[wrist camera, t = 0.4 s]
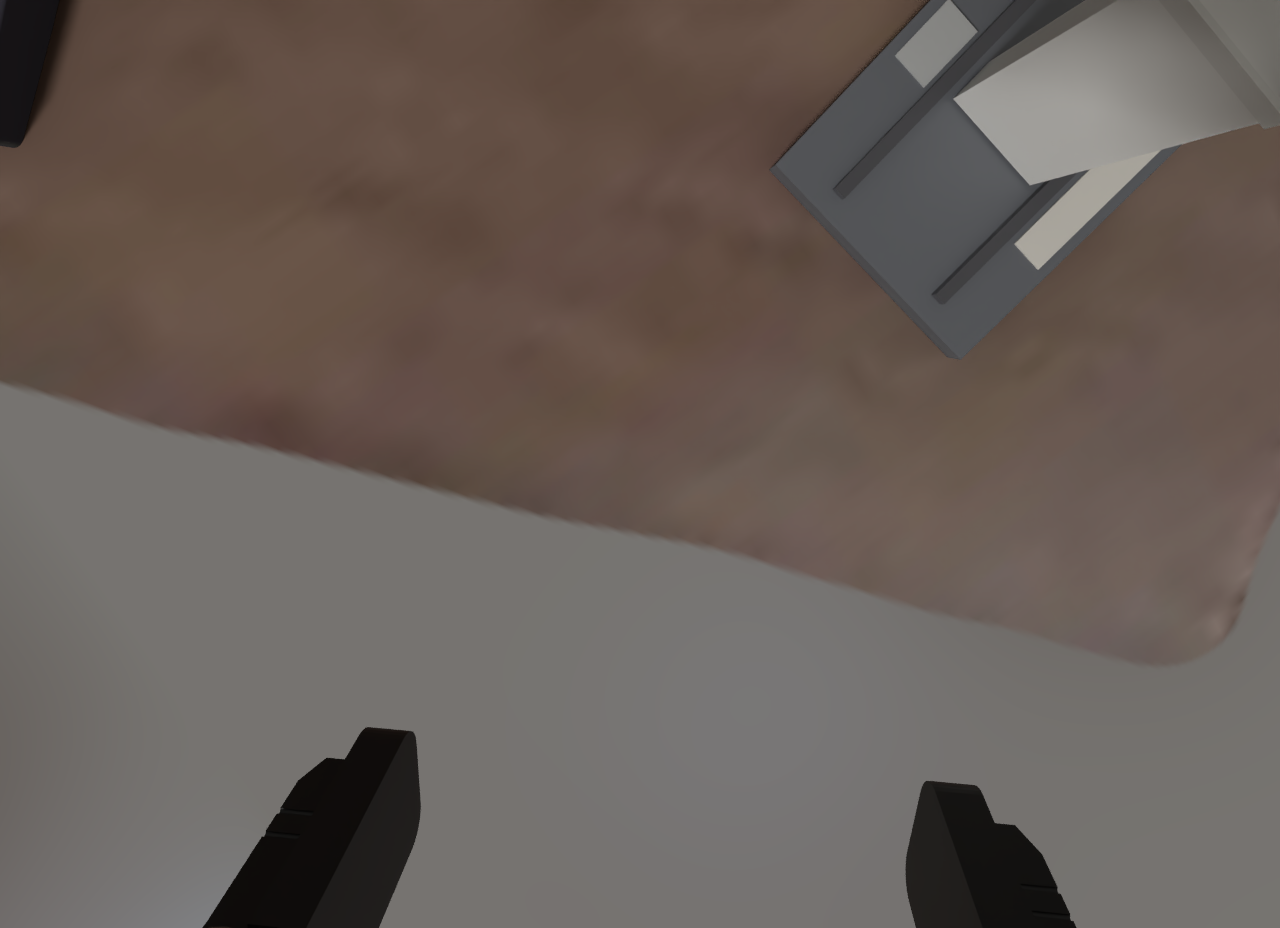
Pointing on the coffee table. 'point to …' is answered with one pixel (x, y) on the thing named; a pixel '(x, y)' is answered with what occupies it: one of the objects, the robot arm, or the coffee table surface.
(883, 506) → the coffee table surface
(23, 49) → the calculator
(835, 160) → the switch base
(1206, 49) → the switch tab
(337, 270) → the coffee table surface
